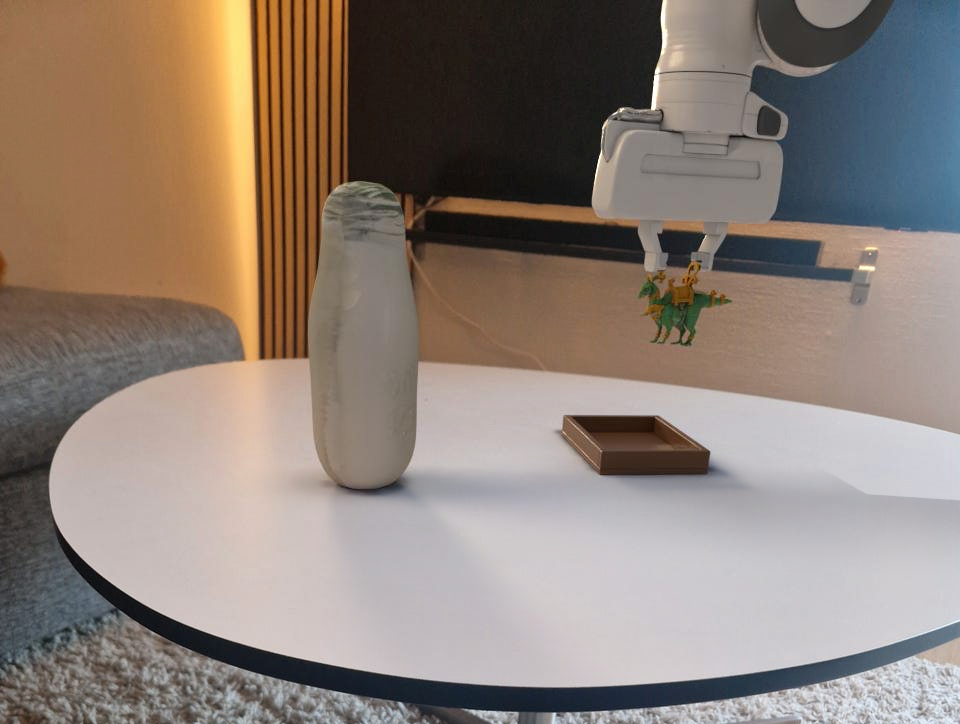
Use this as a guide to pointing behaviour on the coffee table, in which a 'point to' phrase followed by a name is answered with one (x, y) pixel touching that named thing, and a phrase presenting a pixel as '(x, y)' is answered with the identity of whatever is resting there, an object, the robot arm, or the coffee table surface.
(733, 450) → the coffee table surface
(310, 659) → the coffee table surface
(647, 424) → the walnut tray
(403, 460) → the grey tall rounded cylinder
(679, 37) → the robot arm
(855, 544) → the coffee table surface
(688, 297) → the figurine
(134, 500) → the coffee table surface
